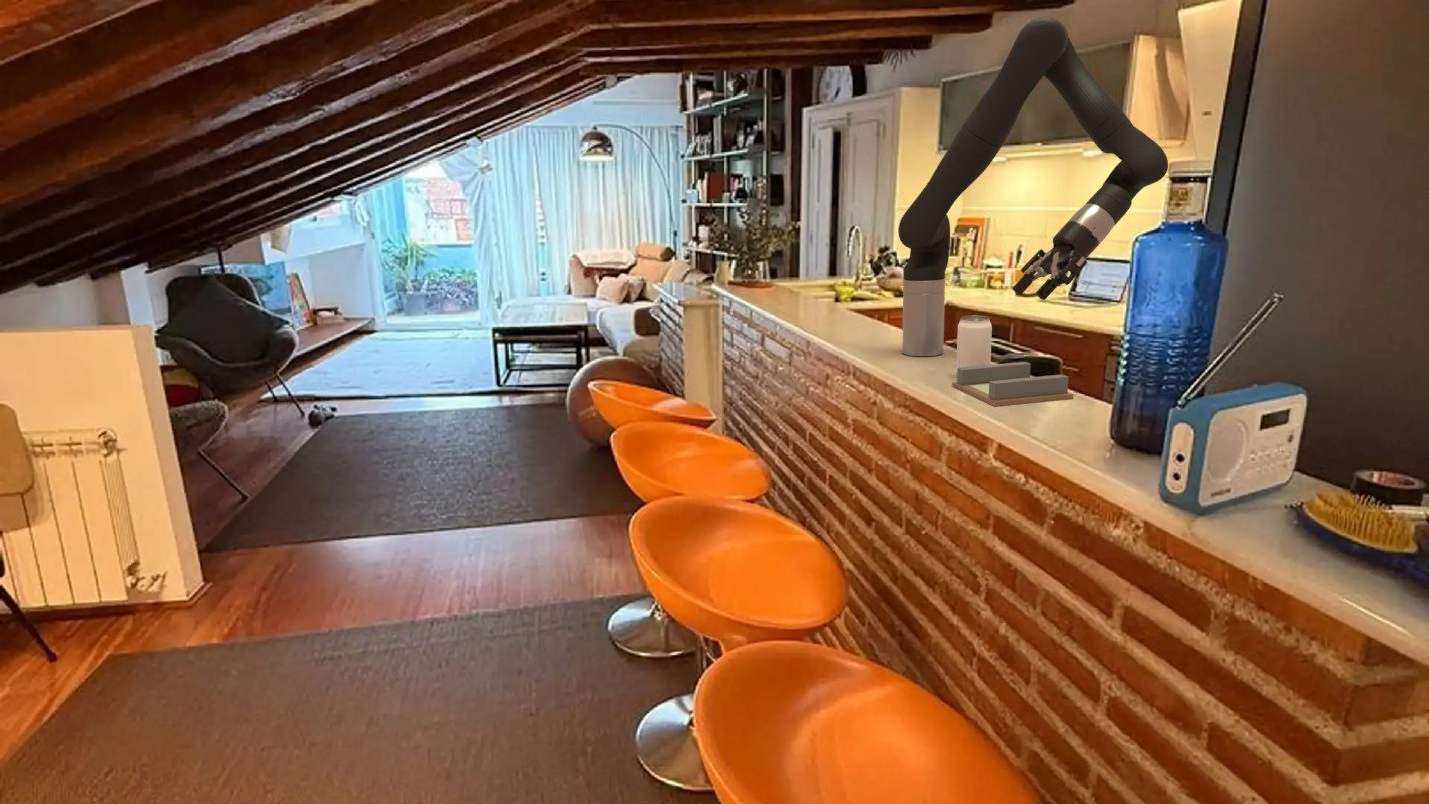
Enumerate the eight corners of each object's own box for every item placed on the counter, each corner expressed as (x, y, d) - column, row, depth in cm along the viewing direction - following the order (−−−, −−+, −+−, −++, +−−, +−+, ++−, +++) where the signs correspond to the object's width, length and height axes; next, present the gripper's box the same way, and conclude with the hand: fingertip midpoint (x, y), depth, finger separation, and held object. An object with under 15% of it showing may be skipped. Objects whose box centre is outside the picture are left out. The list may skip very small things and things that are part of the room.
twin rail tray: (952, 386, 153) (952, 367, 152) (1023, 379, 156) (1024, 360, 155) (994, 406, 138) (995, 385, 137) (1073, 398, 140) (1074, 377, 140)
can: (985, 372, 163) (988, 314, 160) (993, 379, 157) (995, 319, 154) (953, 373, 164) (955, 315, 161) (959, 380, 158) (961, 320, 155)
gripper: (1051, 219, 163) (997, 279, 164) (1095, 220, 149) (1036, 285, 150) (1073, 243, 165) (1019, 302, 166) (1118, 247, 151) (1060, 311, 152)
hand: (1027, 294), depth 158 cm, fingers open, 8 cm apart
